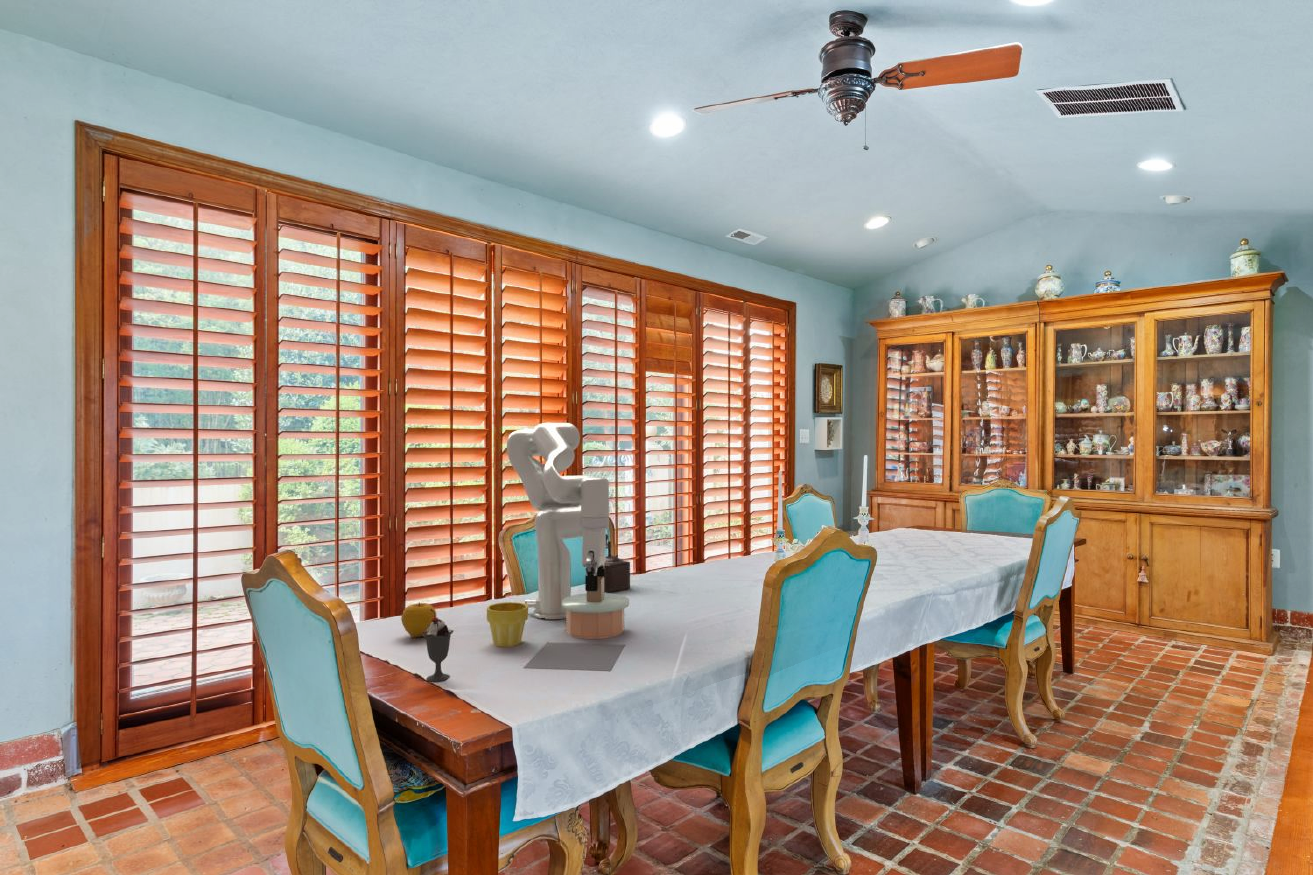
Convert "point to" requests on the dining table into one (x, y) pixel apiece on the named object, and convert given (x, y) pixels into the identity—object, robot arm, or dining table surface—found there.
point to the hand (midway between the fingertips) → (595, 586)
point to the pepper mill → (615, 572)
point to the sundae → (437, 646)
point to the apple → (417, 618)
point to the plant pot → (507, 622)
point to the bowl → (595, 624)
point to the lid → (595, 601)
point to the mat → (576, 656)
